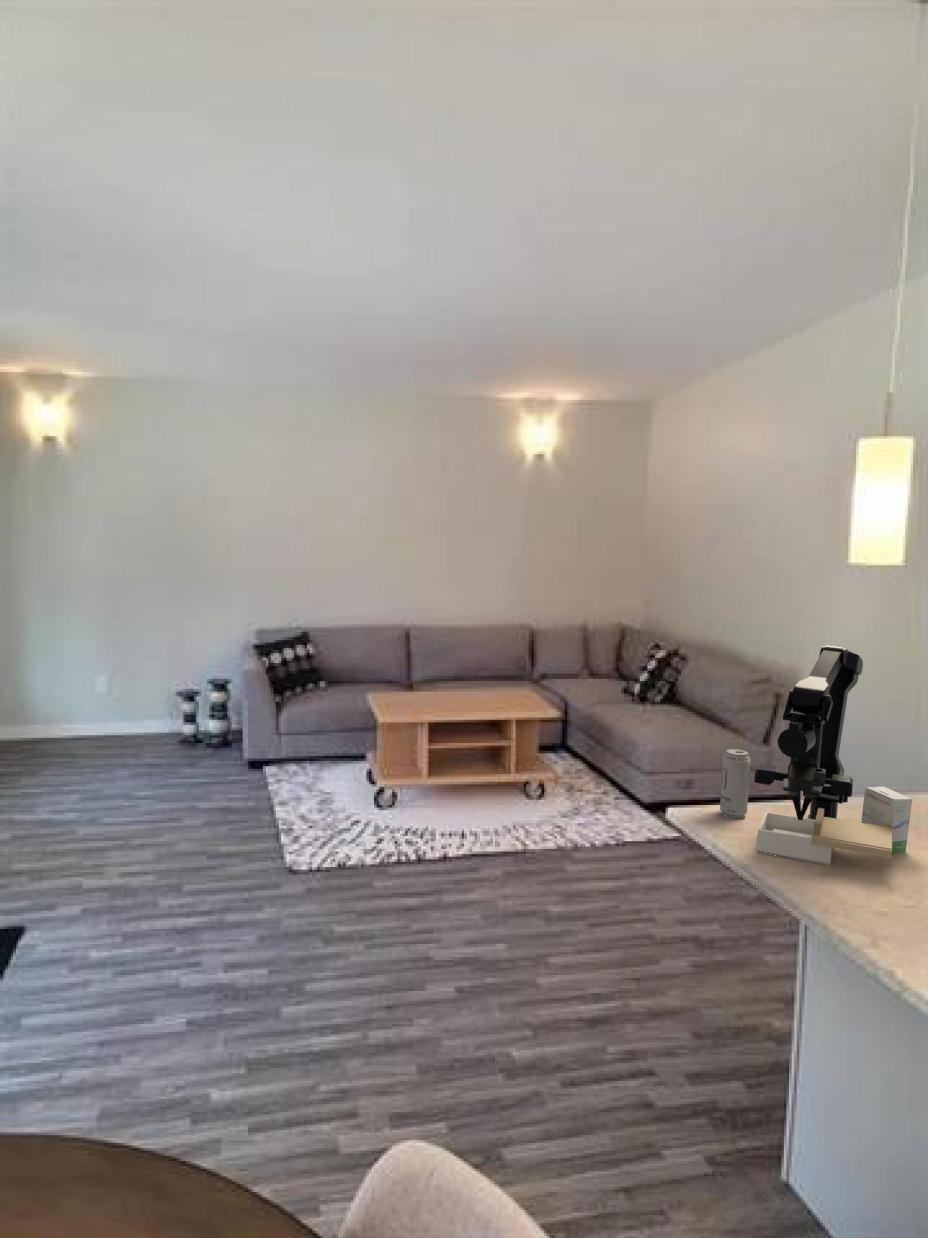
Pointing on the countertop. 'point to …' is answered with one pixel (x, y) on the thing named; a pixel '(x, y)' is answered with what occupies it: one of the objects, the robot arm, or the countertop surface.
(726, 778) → the energy drink can
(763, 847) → the mailer box
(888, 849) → the lid
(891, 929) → the countertop surface
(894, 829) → the ink box
